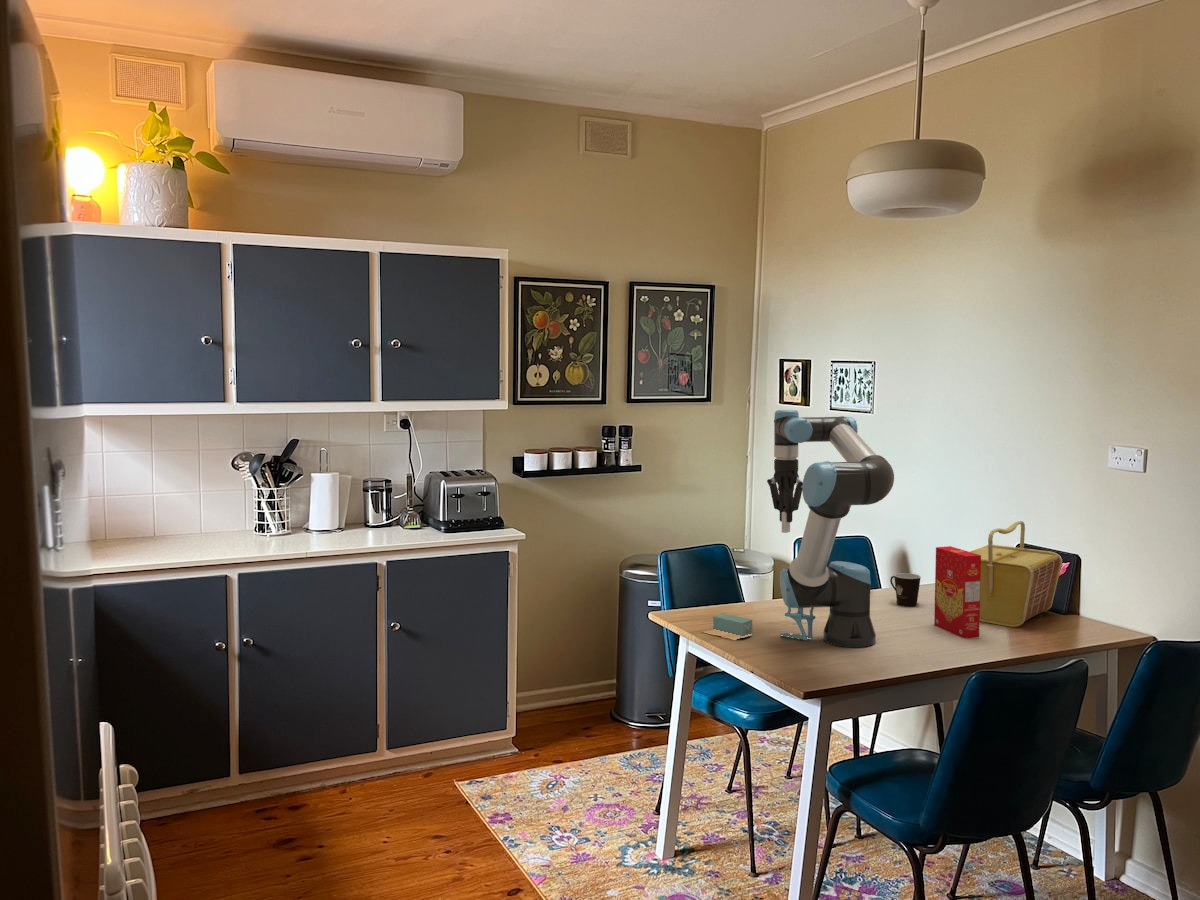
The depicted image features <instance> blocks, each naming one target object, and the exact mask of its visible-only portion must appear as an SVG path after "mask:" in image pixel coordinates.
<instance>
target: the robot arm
mask: <svg viewBox="0 0 1200 900" xmlns="http://www.w3.org/2000/svg"><path fill="white" fill-rule="evenodd" d="M773 419H774V420H773V423H774V424H773V426H774V428H773V429H774V431H773V432H774V433H773V434H774V440H773V441H774V443H773V444H774V445H773V446H774V448H773V452H774V453H773V457H774V458H775V459H774V460H773V461H774V464H773V469H774V473H773V477H771V478H769V479H767V480H766V482H767V484H768V487H769V490H770V495H771V498H772V499H771V500H772V503H773V504H772V505H773V508H774V509H775V510H777V511H779V522H781V533H782V534H786V533H790V532H791V523H792V522H793V514H794V513H793V512H795V511H798V510H799V508H800V502H801V499H802V497H803V500H804V502H805V504H806V505H807V508H808V509H809V512H808V515H807V519H806V524H805V528H804V530H803V531H804V532H803V535H802V538H801V542H800V546H799V549H798V554H797V557H795V558H793V559H792V560H791V562H790V564H789V566H788V567H784V568H781V569H780V571H779V587H780V593H781V597H782V598H781V599H782V601H783V603H784V605H785V606H786V607H787V608H788V607H789V608H791V609H792V608H793V609H797V610H798V609H799V608H803V609H808V608H809V609H811V608H813V607H814V608H829V614H828V616H827V617H828V618H827V621H826V623H825V626H824V629H823V634H822V635H823V636H822V637H823V638H824V639H823V638H822V639H823V641H824V642H826V641H827V642H826V643H828V642H829V643H828V644H830V643H832V644H831V645H833V644H835V645H834V646H837V645H839V646H838V647H843V646H845V648H865V646H867V647H869V646H870V645H871V646H874V645H875V644H876V643H877V641H876V640H877V639H876V638H877V635H876V631H875V628H874V625H873V622H872V619H871V585H872V581H871V572H870V569H868V567H866V566H864V565H862V564H858V563H855V562H850V561H841V560H839V561H838V560H834V561H831V562H830V563H829V567H828V566H827V565H828V562H829V560H830V556H831V553H832V551H833V547H834V543H835V539H836V536H837V532H838V530H839V526H840V523H841V520H842V518H845V517H846V516H847V515H849V512H850V509H851V507H852V506H868V505H874V504H876V503H879V502H881V501H882V500H884V499H885V498H886V497H887V496H888V495H889V494H890V492H891V490H892V489H893V486H894V482H895V472H894V470H893V467H892V465H891V464H890V463H889V461H888V460H887V459H886V458H885V457H883V456H882V455H879V454H876V452H875V451H874V450H873V449H872V448H871V447H870V446H869V445H868V444H867V443H866V442H865V441H864V439H863V438H862V437H861V436H860V435H859V434H858V424H857V420H856V419H855V418H854V417H853V416H842V415H841V416H819V417H816V416H815V417H814V416H813V417H812V416H809V417H808V416H806V417H805V416H802V417H800V416H799V411H798V410H797V409H777V410H776V411H775V412H774V418H773ZM815 442H816V443H818V442H820V443H821V442H830V443H831V445H833V446H834V448H835V449H836V451H838V453H839V454H840V456H841V457H842V458H843V459H844V461H840V462H839V461H838V462H836V461H834V462H833V461H832V462H831V461H829V460H827V461H823V462H822V461H821V462H814V463H811V464H810V465H809V467H807V469H806V471H805V473H804V475H803V480H802V479H800V475H799V459H798V458H799V444H802V443H815ZM795 485H796V487H795Z"/></svg>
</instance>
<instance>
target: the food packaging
mask: <svg viewBox="0 0 1200 900" xmlns="http://www.w3.org/2000/svg"><path fill="white" fill-rule="evenodd" d="M934 569H935V573H934V576H935V577H934V580H935V581H934V618H933V619H934V620H933V621H934V622H933V623H934V627H937V628H939V629H941V630H944V631H945V632H949V633H950V634H952V635H954V636H958V637H959V638H961V639H972V638H980V622H981V621H980V582H981V555H979V554H975V553H972V552H970V551H969V550H964V549H961V548H957V547H954V546H950V545H949V546H937V547H935V568H934Z"/></svg>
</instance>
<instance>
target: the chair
mask: <svg viewBox="0 0 1200 900" xmlns="http://www.w3.org/2000/svg"><path fill="white" fill-rule="evenodd" d="M814 609H815V607H813V608H810V610H809V614H804V608H799V609H798V608H797V612H792V608H789V607H787V612H785V613H784V616H785V617H789V618H791V619H792V620H794V621H795V623H796V625H797V627H798V628H799V631H800V634H802V636H800V635H798V634H793V635H790V634H788V633H789V632H782V633H781V632H780V633H779V634H780V635H783V636H789V637H793V638H792V639H794V638H799V639H798V640H800V639H803V640H802V641H808V639H807V637H808V638H811V639H812V638H813V624H814V623H813V622H814V620H815V619H816V615H814V614H813V611H814ZM791 612H792V613H791ZM802 620H806V622H807V634H806V632H805V629H804V627H803V623H802ZM780 635H779V636H780Z"/></svg>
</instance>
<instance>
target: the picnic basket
mask: <svg viewBox="0 0 1200 900" xmlns="http://www.w3.org/2000/svg"><path fill="white" fill-rule="evenodd" d="M1019 525H1020V539H1019V540H1020V541H1019V547H1015V546H1008V545H999V544H993V542H994V541H993V539H994V535H995V534H996V533H999V534H1001V535H1007V534H1010V533H1012V532H1014V531H1015V530H1016V529H1017V527H1018V526H1019ZM1025 531H1026V524H1025V523H1024V521H1023V520H1017V521H1015V522H1014V523H1012V524H1010V526H1008V527H1007V528H994V529H992V530H990V532H989V534H988V539H987V541H988V544H987V545H985V546H981V547H979V548H976V549H974V550H971V551H969V552H972V553H975V554H979V555H981V582H980V622H982V623H988V624H993V625H998V626H999V625H1000V626H1003V627H1004V626H1005V627H1010V628H1017V627H1020V626H1021V625H1024V622H1026V621H1028V620H1030V619H1032V618H1033V617H1035V616H1037V615H1039V614H1041V613H1043V612H1047V611H1049V610H1050V609H1051V608H1052V605H1053V602H1054V597H1055V594H1056V590H1057V586H1058V581H1059V578H1060V573H1061V569H1062V565H1063V558H1062V557H1061V555H1060V554H1058V553H1056V552H1054V551H1049V550H1042V549H1041V550H1039V549H1031V548H1025V536H1026V535H1025V534H1026V532H1025Z"/></svg>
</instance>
